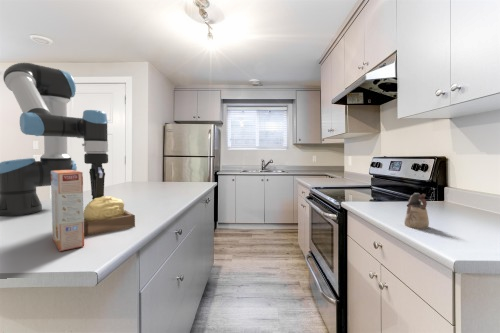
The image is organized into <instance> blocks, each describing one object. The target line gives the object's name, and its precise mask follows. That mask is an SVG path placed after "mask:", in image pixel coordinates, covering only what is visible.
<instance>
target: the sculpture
mask: <svg viewBox="0 0 500 333" xmlns="http://www.w3.org/2000/svg"><path fill="white" fill-rule="evenodd" d="M124 207H125V203H124V201H123V199H121V198H118V197H113V196H111V195H108V196H105V195H104V196H102V197H100V198H95V199H94V200H93V199H92V200H91V201H89V202H88V204H86V206H85V208H84V209H83V211H84V220H85V221H86V222H90V221H96V220H102V219H109V218H115V217H121V216H122V214H123V213H124V210H125V208H124Z"/></svg>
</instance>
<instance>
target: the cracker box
mask: <svg viewBox="0 0 500 333" xmlns="http://www.w3.org/2000/svg"><path fill="white" fill-rule="evenodd" d="M83 173H84V172H82V171H79V170H77V171H75V170H54V171H51V186H50V189H51V190H50V191H51V220H52V221H51V225H52V227H51V228H52V230H51V233H52V240H53V242H54V244H55V246H56V247H57V249H58V251H59V252H64V251H68V250H73V249H79V248H83V247H85V236H84V174H83Z"/></svg>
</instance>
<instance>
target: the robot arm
mask: <svg viewBox="0 0 500 333" xmlns="http://www.w3.org/2000/svg"><path fill="white" fill-rule="evenodd" d="M2 76H3V77H2V78H3V82H4V84H5V87H6V88H8V90H9V91H11V92H12V93H13V95H14V98H15V99H16V102H17V104H18V105H19V107H20V110H21V112H22V113H21V114H20V116H19V129H20V131H21V132H22V134H24V135H26V136H27V135H29V136H35V137H43V142H44V143H43V145H44V147H43V148H44V153H43V154H42V155H41V156H40V158H39V160H36V159H35V158H34V157H33V158H32V157H31V158H30V157H27V158H19V159H18V158H17V159H9V160H4V161H1V162H0V217H15V216H17V217H18V216H25V215H30V214H34V213H39V212H41V211H42V210H43V205H42V204H43V203H42V202H41V200H40V198H39V196H38V194H37V188H38V187H49V186H50V187H51V171H54V170H75V171H78V169H77V168H78V167H77V163H76V161H75V160H72V156H71V155H69V153H68V138H77V139H83V143H81V146H82V147H83V150H84V152H85V153H84V154H83V157H84V159H83V160H84V163H85V164H86V165H89V164H90V168H89V172H88V173H89V180H90V191H91V194H90V196H92V197H91V199H92V200H94V199H95V198H100V197H102V196H105V178H106V177H105V176H106V173H105V168H103V164H108V163H109V154H108V152H109V140H108V123H109V122H108V117H107V116H108V115H107V113H106V112H105V111H102V110H96V109H85V110H83V113H82V117H72V116H68V111H67V104H68V103H69V102H71V99H72V98H74V97H75V95H76V92H77V91H76V88H77V87H76V82H75V79H74V77H73V76H72V74H71V73H69V72H68V71H64V70H61V69H58V68H53V67H49V66H45V65H40V64H35V63H30V62H18V63H14V64H12V65H9V67H7V69H6V70H5V71H4V72H3V75H2Z"/></svg>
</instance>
